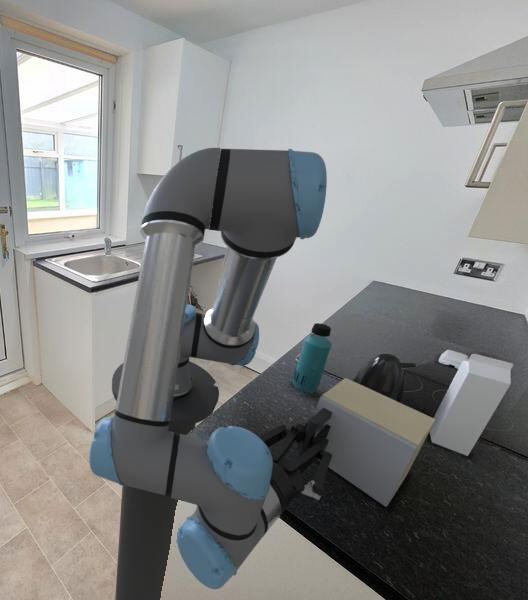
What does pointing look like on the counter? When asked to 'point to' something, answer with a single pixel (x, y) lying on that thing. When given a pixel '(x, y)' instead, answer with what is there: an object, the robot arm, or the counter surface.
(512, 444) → the counter surface
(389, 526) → the counter surface
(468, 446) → the milk
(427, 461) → the counter surface
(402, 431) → the oven
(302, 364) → the beverage bottle
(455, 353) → the soap
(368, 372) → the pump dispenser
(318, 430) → the oven door
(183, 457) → the robot arm
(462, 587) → the counter surface
